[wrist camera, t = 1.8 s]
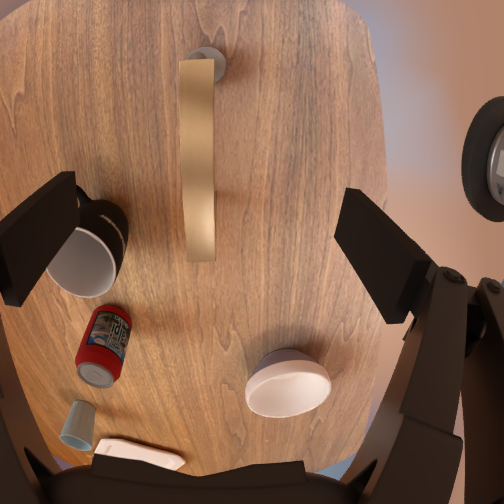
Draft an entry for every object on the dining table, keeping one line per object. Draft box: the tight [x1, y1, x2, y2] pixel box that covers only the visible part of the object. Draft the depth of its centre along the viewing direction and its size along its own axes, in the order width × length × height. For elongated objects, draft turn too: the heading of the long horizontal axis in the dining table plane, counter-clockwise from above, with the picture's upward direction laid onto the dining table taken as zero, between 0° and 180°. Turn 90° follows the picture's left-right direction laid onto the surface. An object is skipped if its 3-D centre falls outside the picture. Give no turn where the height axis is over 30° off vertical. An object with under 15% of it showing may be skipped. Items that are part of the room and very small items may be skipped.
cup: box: [60, 400, 95, 451], centre depth 55 cm, size 8×8×10 cm
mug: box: [46, 185, 129, 298], centre depth 33 cm, size 12×9×10 cm
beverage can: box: [75, 305, 132, 388], centre depth 41 cm, size 7×7×12 cm
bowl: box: [245, 349, 331, 418], centre depth 52 cm, size 14×14×8 cm
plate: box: [94, 439, 186, 471], centre depth 74 cm, size 25×25×2 cm
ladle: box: [179, 47, 226, 262], centre depth 28 cm, size 18×4×14 cm, turn 178°
